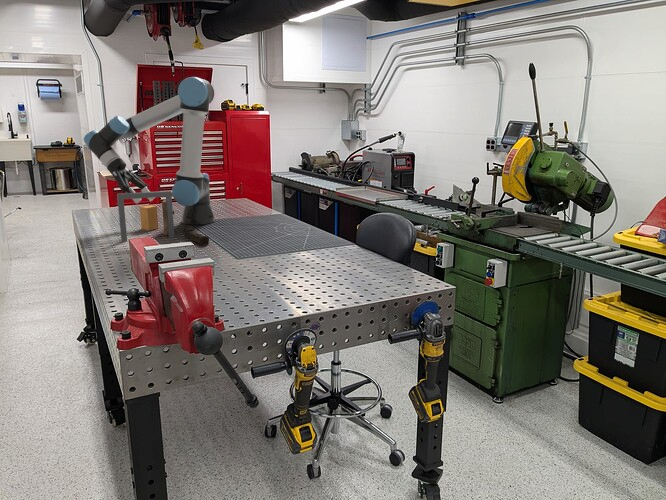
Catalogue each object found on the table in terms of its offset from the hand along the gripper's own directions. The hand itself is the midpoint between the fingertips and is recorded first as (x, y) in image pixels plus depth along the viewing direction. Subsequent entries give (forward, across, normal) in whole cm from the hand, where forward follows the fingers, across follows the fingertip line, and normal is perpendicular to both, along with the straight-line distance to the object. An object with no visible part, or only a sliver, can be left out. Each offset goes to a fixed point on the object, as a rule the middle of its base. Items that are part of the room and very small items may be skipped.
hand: (146, 200), depth 218 cm
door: (+18, +4, +1) cm, 18 cm away
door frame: (+16, +15, -4) cm, 22 cm away
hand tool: (+29, +16, +10) cm, 34 cm away
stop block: (+10, -2, -8) cm, 13 cm away
